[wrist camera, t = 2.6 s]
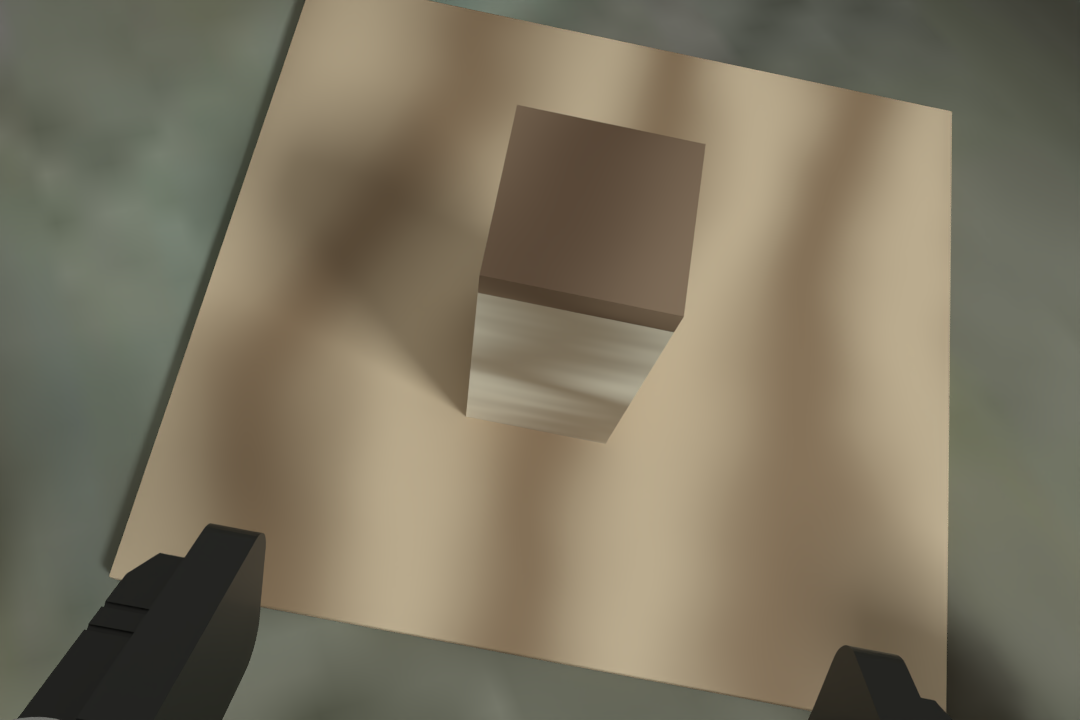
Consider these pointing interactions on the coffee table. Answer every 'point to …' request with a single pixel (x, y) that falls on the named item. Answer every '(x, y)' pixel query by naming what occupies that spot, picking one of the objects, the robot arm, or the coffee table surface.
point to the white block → (581, 272)
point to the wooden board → (653, 415)
